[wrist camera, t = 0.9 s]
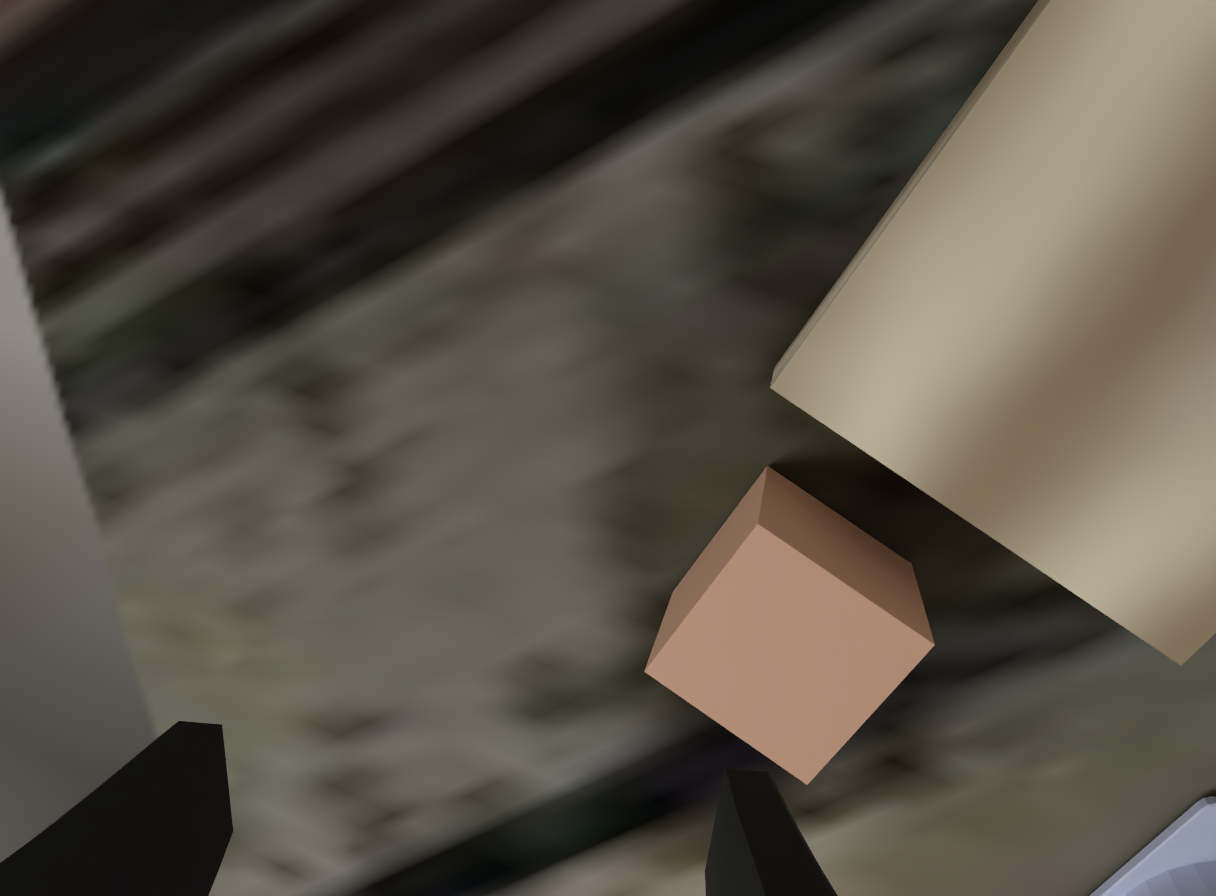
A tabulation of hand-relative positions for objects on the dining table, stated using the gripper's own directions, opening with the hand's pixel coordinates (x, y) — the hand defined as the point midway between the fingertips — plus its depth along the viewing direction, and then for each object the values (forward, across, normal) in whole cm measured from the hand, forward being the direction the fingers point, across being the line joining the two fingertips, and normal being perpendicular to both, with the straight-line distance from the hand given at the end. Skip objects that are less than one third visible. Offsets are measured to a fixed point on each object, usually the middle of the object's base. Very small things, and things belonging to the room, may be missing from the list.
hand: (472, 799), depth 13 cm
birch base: (+13, -14, -5) cm, 20 cm away
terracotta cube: (+13, -8, +4) cm, 15 cm away
